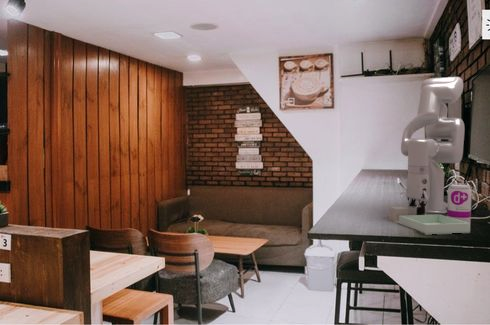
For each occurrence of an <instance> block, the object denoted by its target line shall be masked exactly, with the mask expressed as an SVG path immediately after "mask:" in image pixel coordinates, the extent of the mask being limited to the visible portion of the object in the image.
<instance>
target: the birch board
mask: <svg viewBox="0 0 490 325" xmlns="http://www.w3.org/2000/svg"><path fill="white" fill-rule="evenodd" d="M384 220H387V221H391V222H393V223H398V224H399V221H397V222H396V221H393V220H390V219H389V217H384Z"/></svg>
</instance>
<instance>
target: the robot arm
mask: <svg viewBox="0 0 490 325" xmlns="http://www.w3.org/2000/svg"><path fill="white" fill-rule="evenodd" d="M420 90H421V91H420V96H419V102H418V109H417V114H416V116H415V117H414V118H412V119H411V121H410V122H409V123H407V125H406V127H405V128H404V130H403V132H402V138H401V143H400V152H401V154H402V155H403V156H405V157H407V179H406V189H405V190H406V194H405V196H406V199H407V204H408V206H418V207H417V215H425V208H426V213H427V214H428V213H430V214H446V213H447V205H448V202H446V201H444V192H445V172H444V169H443V168H442V167H441V166H440V164H458V163H460V162H461V161H462V159H463V155H464V141H465V123H464V121H463V119H462V118H461V117H460V118H459V117H448V110H449V109H448V106H447V105H446V104H454V103H456V102H457V101H458V100H459V98H461V97H460V96H461V95H462V93H463V91H464V81H463V79H462V78H461V77H460V76H448V77H432V78H431V77H430V78H426V79H425V80H423V81H422V83H421V86H420ZM423 128H425V131H424V132H425V136H426V138H418V137H416V138H413V137H412V136H413V135H414V133H416V132H417V131H418V130H421V129H423ZM444 140H445V141H444ZM449 140H450V141H449Z"/></svg>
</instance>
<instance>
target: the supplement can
mask: <svg viewBox="0 0 490 325" xmlns="http://www.w3.org/2000/svg"><path fill="white" fill-rule="evenodd" d="M447 203H448V205H447V208H446V210H447V214H446V216H447V217H450V218H454V219H457V220H461V221H464V222H468V223H470V224H471V220H472V217H471V216H472V215H471V214H472V213H471V212H472V188H471V185H469V184H459V183H458V184H456V183H455V184H449V187H448V188H447Z"/></svg>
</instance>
